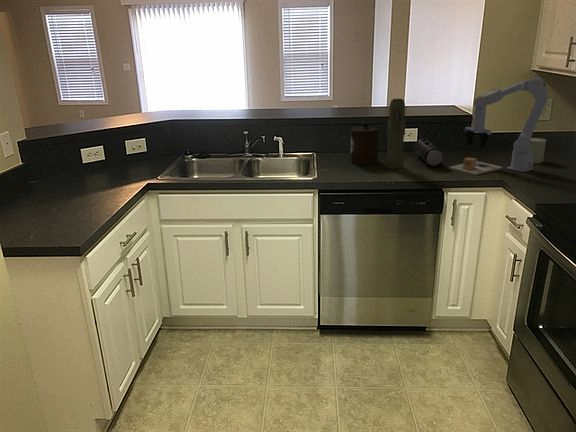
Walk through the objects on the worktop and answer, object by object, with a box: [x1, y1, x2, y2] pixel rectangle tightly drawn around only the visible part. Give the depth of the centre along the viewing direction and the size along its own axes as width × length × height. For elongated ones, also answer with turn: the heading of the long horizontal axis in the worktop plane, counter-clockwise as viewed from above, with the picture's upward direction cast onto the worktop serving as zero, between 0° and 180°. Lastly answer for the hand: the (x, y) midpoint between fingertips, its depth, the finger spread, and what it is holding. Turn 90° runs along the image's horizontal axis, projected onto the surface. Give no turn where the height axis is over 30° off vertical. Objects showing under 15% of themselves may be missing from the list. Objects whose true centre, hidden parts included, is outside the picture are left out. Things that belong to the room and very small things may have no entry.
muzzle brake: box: [413, 138, 444, 167], centre depth 257 cm, size 10×28×10 cm, turn 178°
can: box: [528, 137, 547, 164], centre depth 250 cm, size 9×9×12 cm
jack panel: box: [449, 160, 503, 176], centre depth 242 cm, size 16×20×1 cm
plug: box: [462, 157, 477, 171], centre depth 238 cm, size 4×5×6 cm
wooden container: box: [350, 121, 379, 165], centre depth 260 cm, size 15×15×22 cm
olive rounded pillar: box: [385, 98, 406, 171], centre depth 243 cm, size 9×12×35 cm
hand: (476, 146), depth 247 cm, fingers open, 7 cm apart
